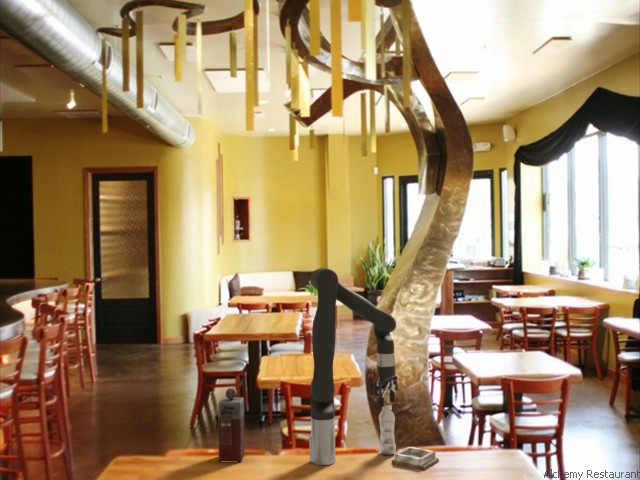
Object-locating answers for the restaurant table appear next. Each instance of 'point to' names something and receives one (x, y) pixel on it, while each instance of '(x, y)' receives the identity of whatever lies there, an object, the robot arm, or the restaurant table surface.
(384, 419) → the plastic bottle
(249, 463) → the restaurant table surface
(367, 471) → the restaurant table surface
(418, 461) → the socket board
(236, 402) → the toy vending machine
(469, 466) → the restaurant table surface
